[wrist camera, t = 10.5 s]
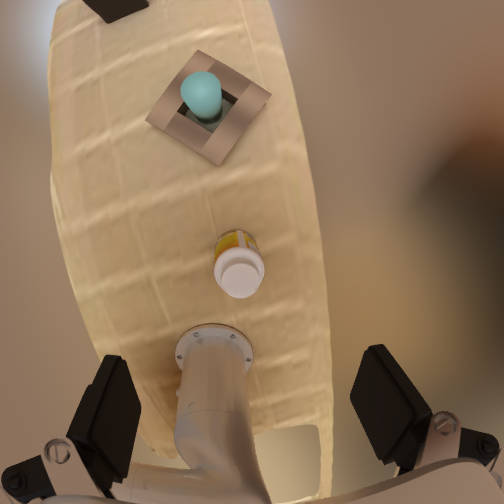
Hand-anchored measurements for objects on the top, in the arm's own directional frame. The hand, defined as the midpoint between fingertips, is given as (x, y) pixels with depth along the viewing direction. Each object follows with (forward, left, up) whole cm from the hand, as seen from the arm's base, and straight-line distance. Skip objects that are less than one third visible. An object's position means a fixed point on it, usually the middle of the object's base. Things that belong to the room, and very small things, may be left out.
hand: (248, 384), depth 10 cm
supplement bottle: (-3, -3, -28) cm, 29 cm away
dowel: (+10, +10, -28) cm, 32 cm away
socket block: (+10, +10, -28) cm, 32 cm away
